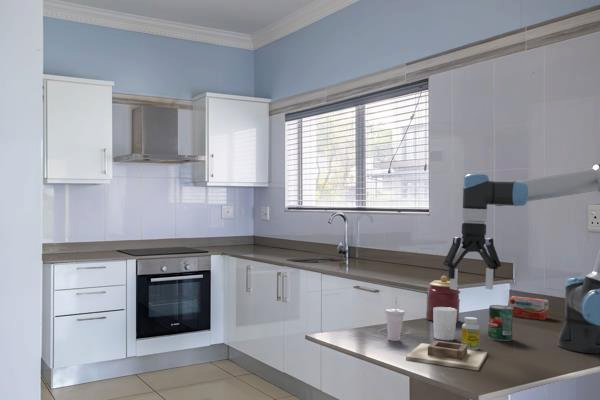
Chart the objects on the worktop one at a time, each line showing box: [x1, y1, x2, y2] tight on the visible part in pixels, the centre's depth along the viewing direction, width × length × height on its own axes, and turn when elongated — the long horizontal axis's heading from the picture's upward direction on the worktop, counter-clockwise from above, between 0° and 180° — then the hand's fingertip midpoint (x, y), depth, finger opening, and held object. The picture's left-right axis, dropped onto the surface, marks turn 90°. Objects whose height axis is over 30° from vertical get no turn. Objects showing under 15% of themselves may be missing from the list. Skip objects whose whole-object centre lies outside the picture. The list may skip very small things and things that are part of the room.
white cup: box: [432, 307, 457, 341], centre depth 204 cm, size 8×8×10 cm
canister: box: [425, 275, 461, 323], centre depth 239 cm, size 13×13×18 cm
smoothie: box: [384, 296, 406, 342], centre depth 198 cm, size 6×6×14 cm
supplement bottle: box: [461, 316, 480, 351], centre depth 191 cm, size 5×5×10 cm
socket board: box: [405, 339, 488, 371], centre depth 177 cm, size 20×20×4 cm
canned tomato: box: [487, 304, 514, 342], centre depth 208 cm, size 8×8×11 cm
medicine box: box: [507, 295, 550, 321], centre depth 257 cm, size 15×8×8 cm, turn 58°
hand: (471, 289), depth 192 cm, fingers open, 13 cm apart
